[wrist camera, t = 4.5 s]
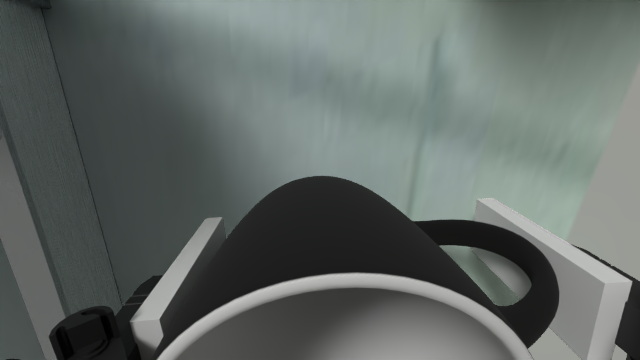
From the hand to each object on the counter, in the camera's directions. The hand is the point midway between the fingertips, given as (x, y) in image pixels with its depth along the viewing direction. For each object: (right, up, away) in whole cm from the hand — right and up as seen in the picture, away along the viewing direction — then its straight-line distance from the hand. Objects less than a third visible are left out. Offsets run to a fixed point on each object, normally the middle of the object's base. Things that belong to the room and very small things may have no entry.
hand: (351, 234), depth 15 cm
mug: (0, 0, +2) cm, 2 cm away
